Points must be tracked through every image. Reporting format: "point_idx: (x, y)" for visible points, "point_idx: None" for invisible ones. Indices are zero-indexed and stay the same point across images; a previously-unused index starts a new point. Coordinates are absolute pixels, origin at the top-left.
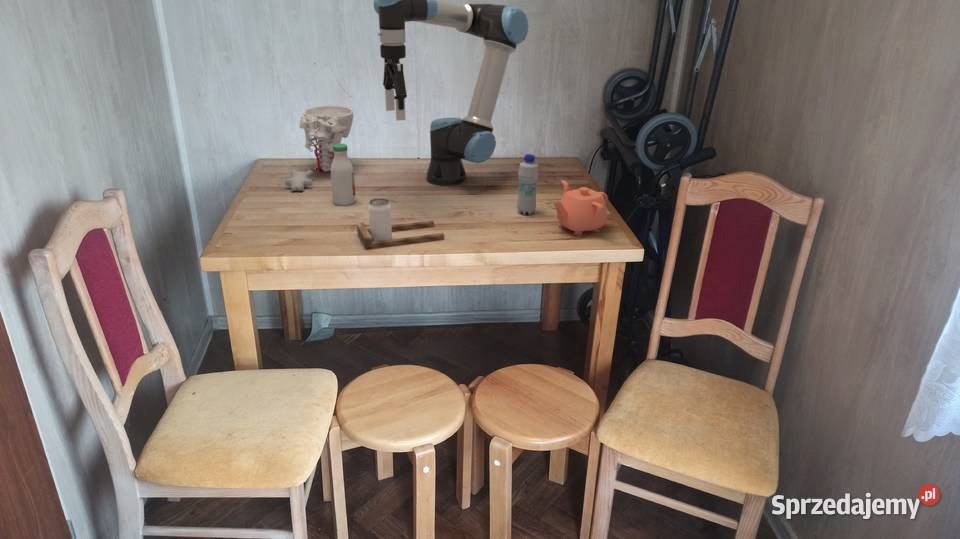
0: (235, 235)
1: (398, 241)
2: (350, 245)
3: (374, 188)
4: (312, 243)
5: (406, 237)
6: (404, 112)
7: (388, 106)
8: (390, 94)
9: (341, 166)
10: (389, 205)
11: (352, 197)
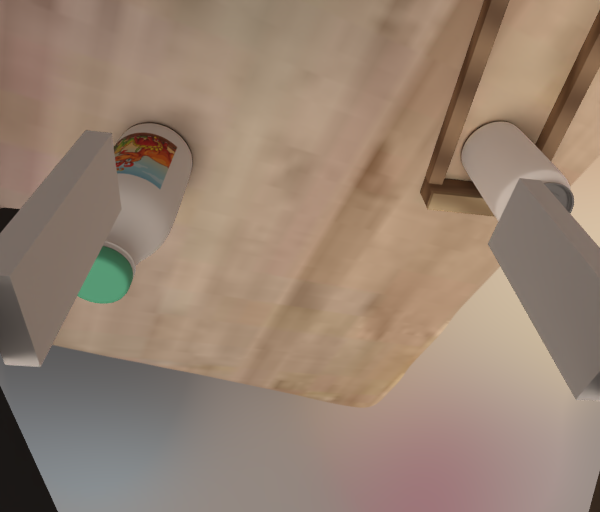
0: (293, 377)
1: (567, 125)
2: (474, 224)
3: (19, 6)
4: (410, 285)
5: (568, 96)
6: (571, 226)
7: (106, 214)
8: (51, 275)
9: (159, 239)
10: (561, 177)
11: (181, 148)
